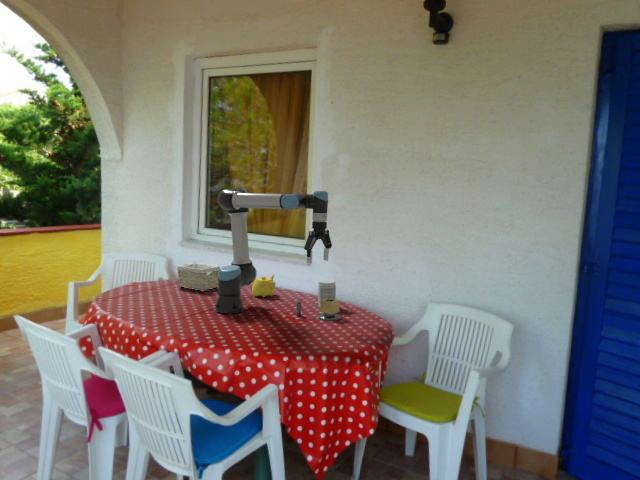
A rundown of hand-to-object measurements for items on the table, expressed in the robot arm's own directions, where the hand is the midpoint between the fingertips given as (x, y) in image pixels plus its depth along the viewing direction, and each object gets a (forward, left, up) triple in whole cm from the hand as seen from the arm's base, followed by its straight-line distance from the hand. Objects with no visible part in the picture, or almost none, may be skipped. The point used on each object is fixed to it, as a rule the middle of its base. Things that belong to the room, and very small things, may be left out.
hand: (317, 261), depth 255 cm
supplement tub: (+3, +15, -28) cm, 32 cm away
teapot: (-37, +35, -28) cm, 58 cm away
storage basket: (-83, +45, -28) cm, 99 cm away
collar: (+7, -5, -25) cm, 26 cm away
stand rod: (-9, -5, -28) cm, 30 cm away
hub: (+7, -5, -28) cm, 29 cm away
